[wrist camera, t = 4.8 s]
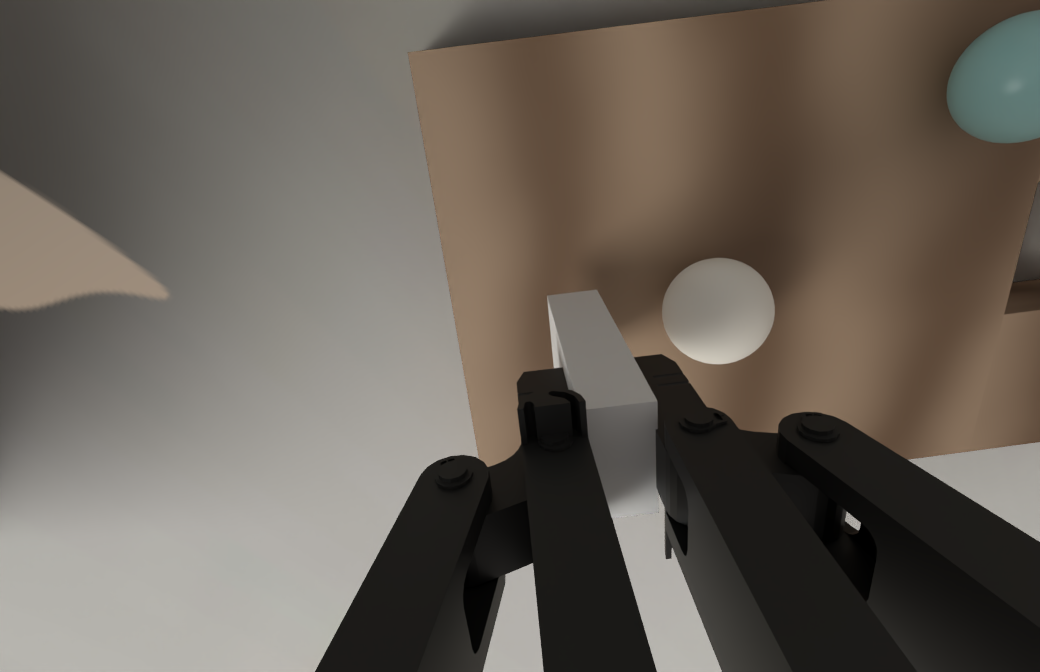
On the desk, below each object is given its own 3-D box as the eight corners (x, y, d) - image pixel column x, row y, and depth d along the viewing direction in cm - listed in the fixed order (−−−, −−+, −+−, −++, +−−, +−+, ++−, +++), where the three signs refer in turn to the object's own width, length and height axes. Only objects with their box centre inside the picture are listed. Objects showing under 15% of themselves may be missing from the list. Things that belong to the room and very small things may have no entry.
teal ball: (910, 144, 17) (1000, 156, 14) (929, 24, 16) (1033, 9, 13) (1014, 131, 17) (1125, 140, 14) (1043, 10, 16) (1171, -8, 13)
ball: (650, 343, 19) (681, 390, 16) (648, 252, 18) (681, 284, 15) (743, 331, 19) (791, 375, 16) (748, 239, 18) (801, 269, 15)
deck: (488, 474, 24) (489, 515, 22) (417, 57, 17) (407, 52, 15) (1134, 388, 24) (1202, 420, 22) (1302, -54, 18) (1425, -75, 15)
